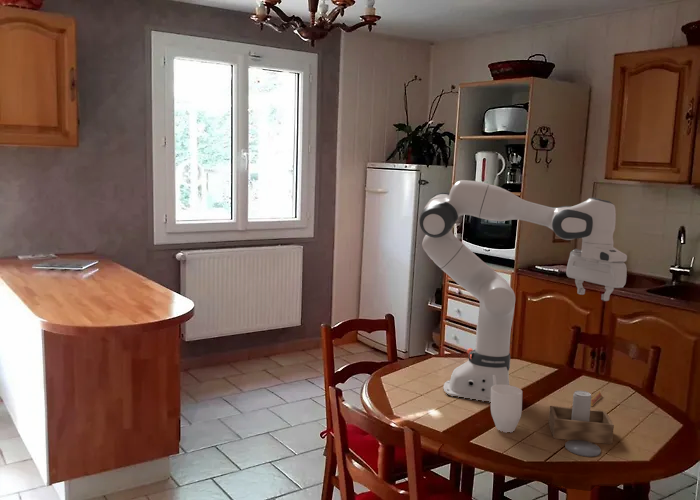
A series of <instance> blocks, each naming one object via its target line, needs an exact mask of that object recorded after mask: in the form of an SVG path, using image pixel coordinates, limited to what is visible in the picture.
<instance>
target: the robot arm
mask: <svg viewBox="0 0 700 500" xmlns="http://www.w3.org/2000/svg"><path fill="white" fill-rule="evenodd" d="M616 213H617V212H616V205H615V204H614V203H613V202H611V201H610V200H605V199H602V198H597V197H589V198H588V199H586V200H585V201H582V202H580V203H578V204H575V205H573V206H572V205H562V206H558V207H557V206H555V207H552V206H547V205H544V204H540V203H535V202H532V201H528V200H525V199H523V198H521V197H519V196H518V195H516V194H514V193H513V192H511V191H509V190H507V189H505V188H503V187H500V186H497V185H494V184H490V183H486V182H482V181H477V180H470V179H469V180H466V179H461V180H458V181H456V182H455V183H454V184H453V185H452V186H451V188H450V190H449V192H445V191H443V192H439V193H436V194H435V195H433V196H432V197H431V198H430V199H429V200H428V202H426V204H425V205H424V208H423V210H422V211H421V213H420V216H419V227H420V229H421V231H422V232H423V233H424V234H425V235H424V237H423V239H422V243H421V246H422V249H423V251H424V253H426V255H427V256H428V257H429V259H431V260H432V262H434V264H435V265H436V266H437V267H439V268H440V270H441V271H443V272H444V273H445V274H446V275H448V276H449V278H450V279H452V280H453V281H454V282H455V283H456V284H457V285H459V286H460V287H462V288H463V289H464V290H466V291H467V292H468V293H470V295H472V296H473V297H474V298H475V299H477V300H478V301H479V309H478V316H477V317H478V318H477V324H476V334H475V335H476V336H475V349H473V348H471V347H470V348H469V347H468V349H467V354H468V360H467V361H465V362H464V363H462V364H461V365H459V366H457V367H455V368H454V369H453V371H452V373H451V376H450V379H449V380H447V381H445V382H444V383H443V388H442V390H443V389H444V391H445V392H446V393H447V394H449V395H451V396H450V397H453V396H458V397H457V398H459V397H464V398H463V399H465V398H470V399H469V400H472V399H476V400H475V401H478V400H482V401H481V402H484V401H489V402H488V403H490V402H491V387H492V386H494V385H510V378H509V377H510V375H509V371H510V367H511V354H510V345H511V344H510V343H511V333H512V332H511V331H512V330H511V329H512V326H513V320H514V315H515V306H516V305H515V304H516V294H515V291H514V289H513V288H512V287H511V286H510V284H509V283H508V281H507V280H505V279H504V278H503V277H502V276H501V275H500V274H499V273H498V272H496V271H495V270H494V269H493V268H492V267H491V266H489V265H488V264H487V263H486V262H485V261H483V260H482V259H481V258H480V257H479V256H477V255H476V254H475V253H474V252H473V251H472V249H470V248H469V247H468V246H466V245H465V244H464V243H463V242H462V241H461V240H460V239H459V238H458V237H456V236H455V234H454V232H453V227H454V225H455V224H456V223H457V221H458V219H459V218H460V217H461V216H465V215H466V216H470V217H471V216H472V217H475V218H478V219H482V220H487V221H492V222H506V221H512V220H515V221H516V220H518V221H525V222H528V223H532V224H536V225H539V226H544V227H546V228H548V229H550V230H551V231H553V233H554V234H555V235H556V237H558V238H560V239H562V240H565V241H572V240H575V239H582V240H581V241H582V242H581V249H579V248H573V250H571V251H570V253H569V257H568V260H567V261H568V262H567V265H566V271H565V274H566V276H567V277H568V278H569V279H570V278H571V279H574V283H575V286H576V288H577V290H576V291H577V292H576V293H577V294H578V295H581V296H583V295H585V294H586V288H584V286H583V283H584V281H585V282H588V283H592V284H596V285H599V286H600V285H601V286H604V290H605V292H604V293H601V297H600V299H601V300H602V301H603V302H608V301H610V298H611V297H610V295H611V294H612V293H613V292H614V290H615V289H620V288H624V286H625V285H626V283H627V277H628V275H627V274H628V273H627V272H628V271H627V270H628V269H627V264H626V263H625V262H627V260H628V255H627V254H626V253H624V252H622V251H620V250H619V249H618V248H616V247H614V244H615V243H614V232H615V231H616V222H617V221H616V217H617V216H616ZM444 391H443V392H444ZM447 394H446V395H447Z"/></svg>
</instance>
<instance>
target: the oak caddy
mask: <svg viewBox="0 0 700 500" xmlns="http://www.w3.org/2000/svg"><path fill="white" fill-rule="evenodd" d="M548 412H549V413H548V426H549V430H550V432H551V435H552V438H553V439H559V440H568V441H570V440H583V441H588V442H591V443H597V444H608V445H613V440H614V426H615V425H614V423H613V421H612V420H611V418H610V417H609V415H608V413H607V411H606V410H599V409H590V418H589V422H587V421H577V420H571V418H572V407H568V406H557V405H556V406H555V405H549V410H548Z"/></svg>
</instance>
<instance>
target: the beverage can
mask: <svg viewBox="0 0 700 500" xmlns="http://www.w3.org/2000/svg"><path fill="white" fill-rule="evenodd" d="M591 398H592V394H591V393H590V392H588V391H585V390H575V391H574V392H573V396H572V407H571V408H572V418H571V420H577V421H587V422H589V418H590V410H591V407H592V406H591Z"/></svg>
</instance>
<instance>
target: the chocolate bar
mask: <svg viewBox="0 0 700 500" xmlns="http://www.w3.org/2000/svg"><path fill="white" fill-rule="evenodd" d="M602 397H603V395H602V392H601V391H600V390H599V391H597V392H596V393H595V394H594V396H591V407H593V406H594V405H595V404H596V403H597V402H598V401H599V400H600V399H602Z"/></svg>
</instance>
